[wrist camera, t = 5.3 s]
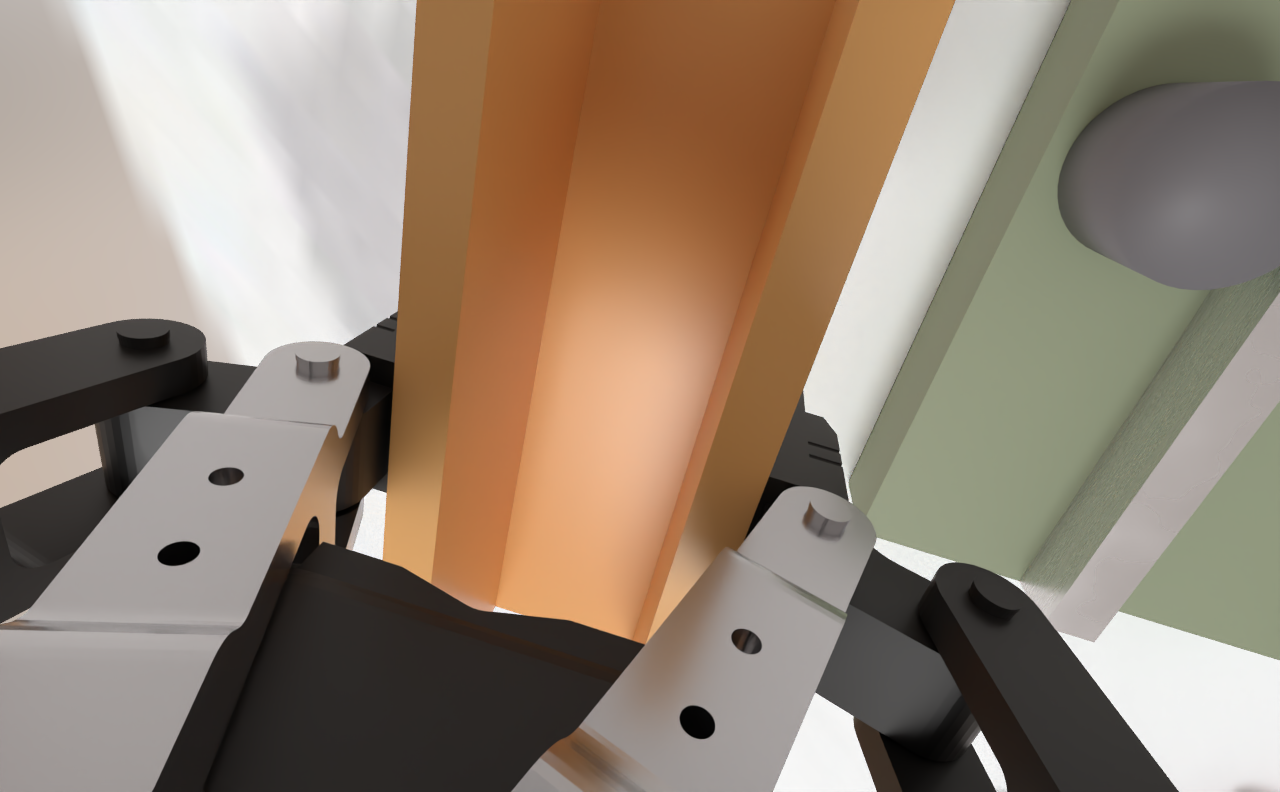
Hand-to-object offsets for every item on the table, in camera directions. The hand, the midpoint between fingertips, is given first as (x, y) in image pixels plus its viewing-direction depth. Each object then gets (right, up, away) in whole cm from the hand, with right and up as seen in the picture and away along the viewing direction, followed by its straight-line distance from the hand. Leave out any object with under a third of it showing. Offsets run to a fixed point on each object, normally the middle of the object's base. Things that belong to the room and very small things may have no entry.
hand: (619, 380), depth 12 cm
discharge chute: (0, 0, +1) cm, 1 cm away
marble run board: (+17, +1, +8) cm, 19 cm away
